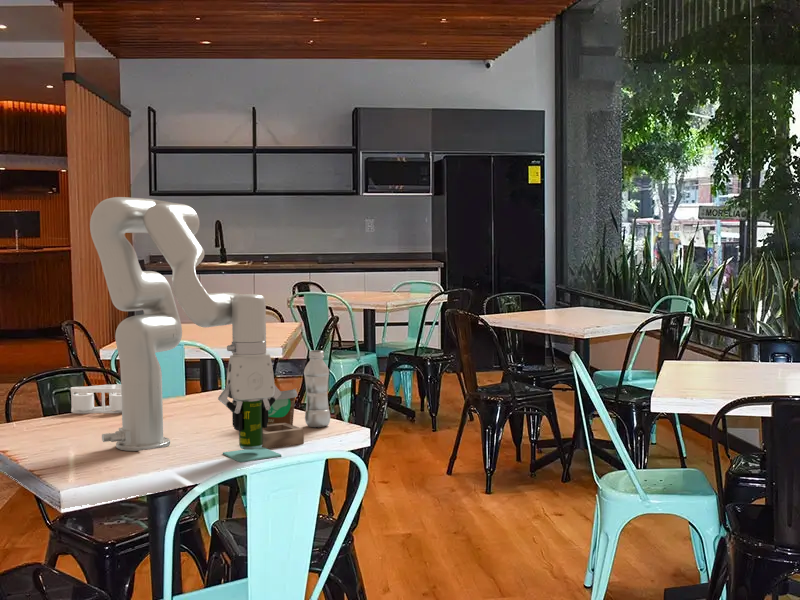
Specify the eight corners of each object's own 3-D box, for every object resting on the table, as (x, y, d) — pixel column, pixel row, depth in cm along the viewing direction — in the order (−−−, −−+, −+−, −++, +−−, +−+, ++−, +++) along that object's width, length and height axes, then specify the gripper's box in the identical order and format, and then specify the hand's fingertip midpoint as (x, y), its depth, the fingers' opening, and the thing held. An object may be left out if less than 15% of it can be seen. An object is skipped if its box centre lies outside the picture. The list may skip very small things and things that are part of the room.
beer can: (250, 443, 222) (249, 392, 221) (268, 446, 219) (267, 394, 218) (234, 448, 217) (233, 395, 217) (251, 451, 214) (250, 397, 214)
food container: (245, 430, 248) (244, 391, 247) (252, 425, 254) (252, 387, 253) (291, 431, 246) (291, 392, 245) (298, 426, 252) (297, 388, 251)
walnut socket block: (265, 448, 225) (265, 433, 225) (248, 441, 233) (247, 427, 233) (303, 443, 230) (303, 429, 230) (285, 436, 239) (285, 422, 238)
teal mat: (240, 462, 211) (240, 460, 211) (222, 454, 220) (222, 452, 220) (281, 456, 217) (281, 454, 217) (262, 448, 225) (262, 446, 225)
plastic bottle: (334, 427, 249) (333, 351, 248) (310, 430, 246) (309, 353, 245) (324, 423, 255) (323, 349, 254) (300, 426, 252) (299, 350, 250)
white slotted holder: (64, 416, 271) (63, 390, 271) (79, 409, 282) (78, 384, 282) (134, 416, 270) (133, 390, 270) (146, 409, 281) (145, 384, 281)
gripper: (220, 353, 209) (221, 435, 210) (291, 348, 218) (292, 427, 219) (207, 350, 215) (208, 430, 216) (276, 345, 224) (277, 421, 226)
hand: (250, 427), depth 218 cm, fingers closed on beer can, 5 cm apart
